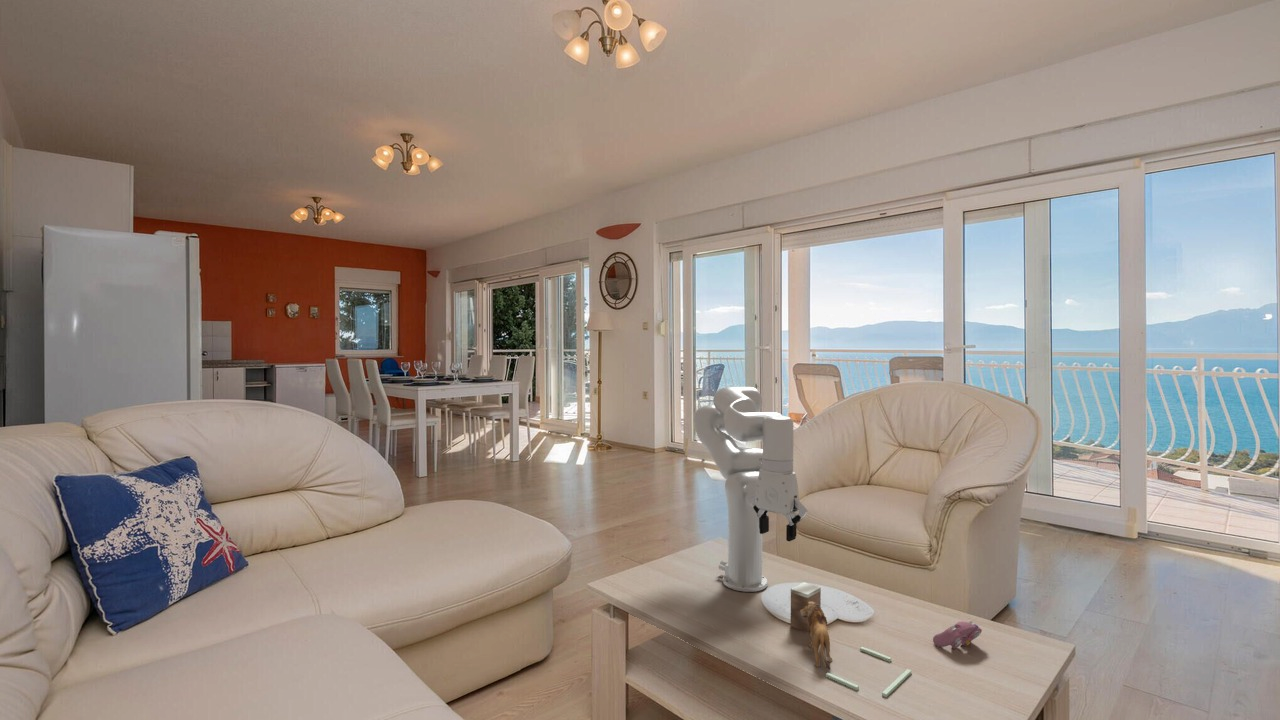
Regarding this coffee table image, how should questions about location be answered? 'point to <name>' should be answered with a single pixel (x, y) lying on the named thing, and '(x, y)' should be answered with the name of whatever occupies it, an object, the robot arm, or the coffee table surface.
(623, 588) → the coffee table surface
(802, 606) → the walnut block
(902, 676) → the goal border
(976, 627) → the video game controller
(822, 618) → the lion figurine
